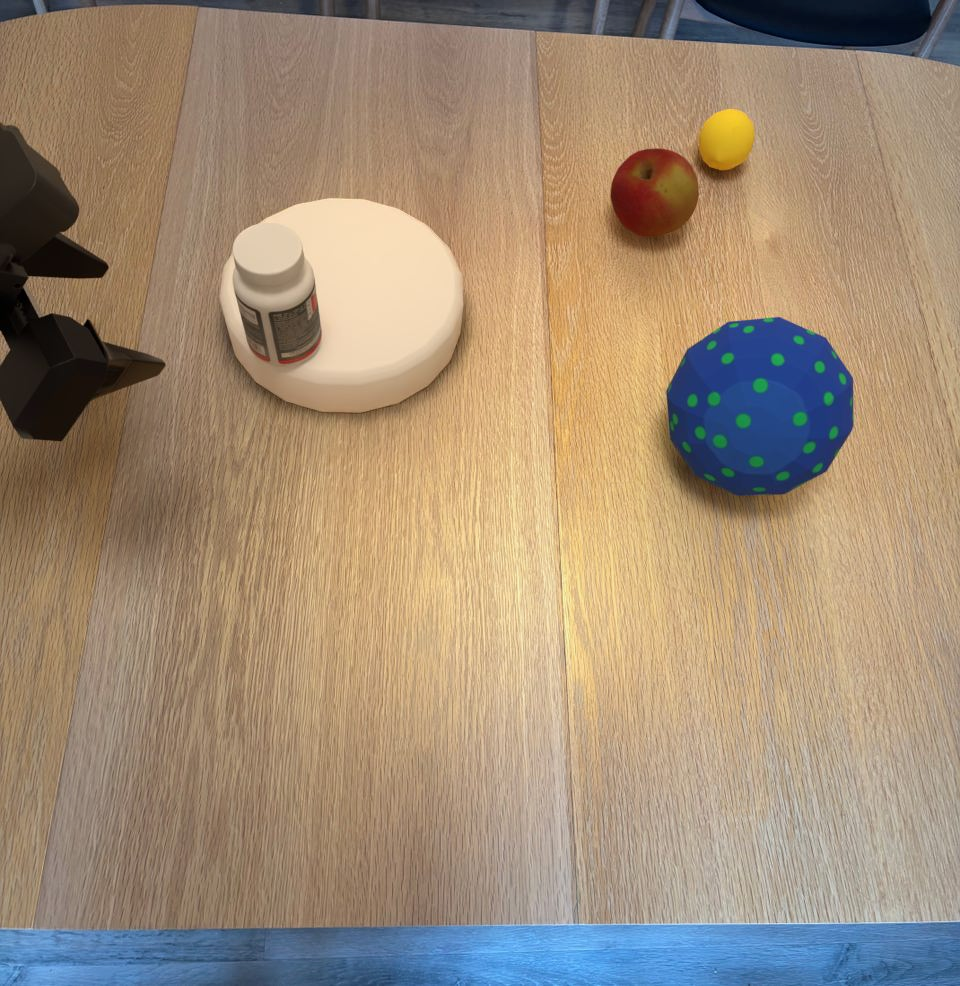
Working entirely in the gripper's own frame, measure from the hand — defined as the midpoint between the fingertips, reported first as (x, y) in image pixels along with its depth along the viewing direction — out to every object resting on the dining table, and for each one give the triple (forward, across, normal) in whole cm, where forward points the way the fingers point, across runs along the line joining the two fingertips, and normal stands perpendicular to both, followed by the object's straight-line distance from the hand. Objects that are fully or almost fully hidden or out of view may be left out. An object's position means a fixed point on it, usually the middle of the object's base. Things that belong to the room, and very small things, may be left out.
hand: (132, 317), depth 56 cm
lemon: (+51, +3, -33) cm, 61 cm away
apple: (+42, -1, -24) cm, 49 cm away
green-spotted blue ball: (+36, -24, -18) cm, 47 cm away
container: (+21, +3, -3) cm, 22 cm away
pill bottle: (+13, 0, -1) cm, 13 cm away
